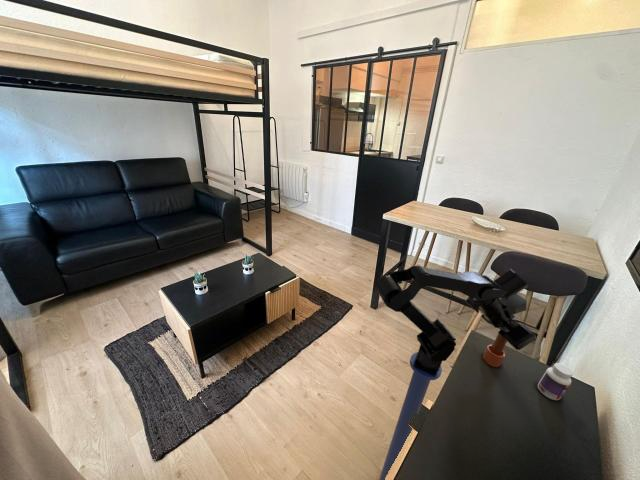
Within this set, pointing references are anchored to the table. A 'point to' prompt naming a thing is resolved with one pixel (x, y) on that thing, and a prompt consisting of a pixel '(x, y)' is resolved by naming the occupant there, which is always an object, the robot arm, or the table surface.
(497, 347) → the spice bottle
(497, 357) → the pot
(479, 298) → the robot arm
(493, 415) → the table surface
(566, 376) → the pill bottle
